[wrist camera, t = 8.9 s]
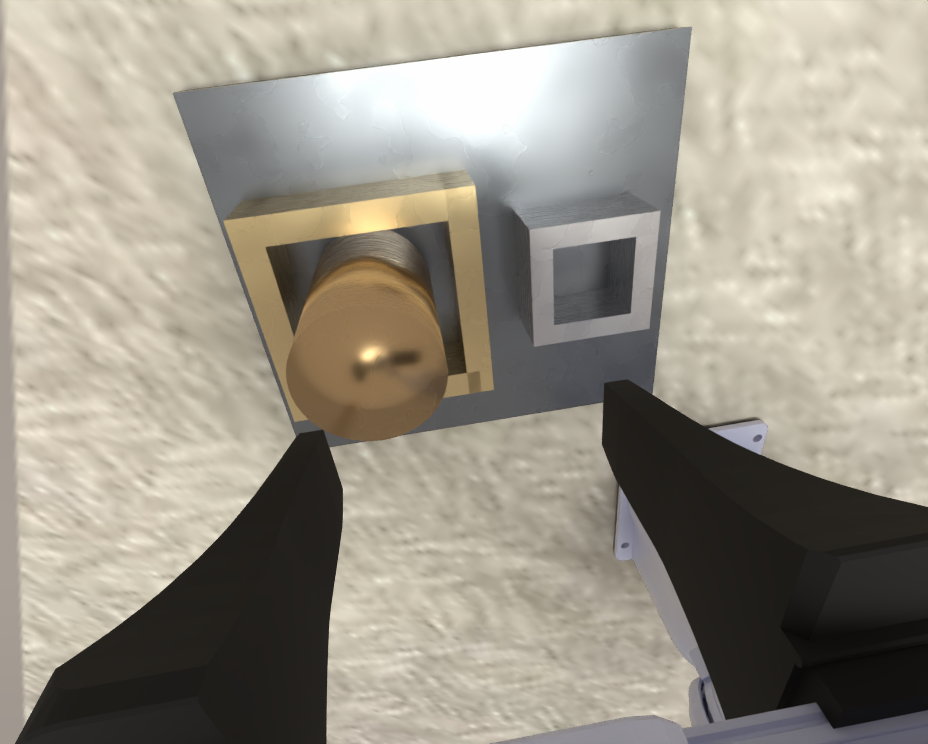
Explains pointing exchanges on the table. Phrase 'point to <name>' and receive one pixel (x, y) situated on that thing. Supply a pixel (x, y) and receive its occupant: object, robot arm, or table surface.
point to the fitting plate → (467, 205)
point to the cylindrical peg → (368, 340)
